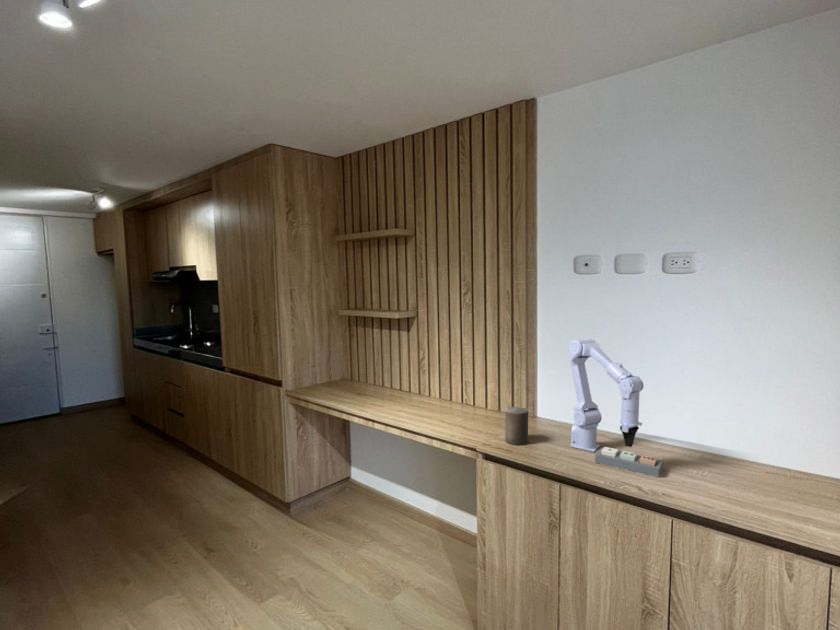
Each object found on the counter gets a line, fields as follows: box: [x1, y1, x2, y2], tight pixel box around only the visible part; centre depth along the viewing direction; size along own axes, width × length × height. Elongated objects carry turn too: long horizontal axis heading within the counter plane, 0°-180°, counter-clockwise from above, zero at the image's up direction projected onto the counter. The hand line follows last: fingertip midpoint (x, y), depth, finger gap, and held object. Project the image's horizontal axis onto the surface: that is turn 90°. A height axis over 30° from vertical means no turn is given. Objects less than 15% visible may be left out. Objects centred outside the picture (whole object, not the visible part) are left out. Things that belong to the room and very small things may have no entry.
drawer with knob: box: [601, 446, 619, 457], centre depth 162 cm, size 5×5×4 cm
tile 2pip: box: [620, 450, 638, 462], centre depth 158 cm, size 5×5×4 cm
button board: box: [594, 446, 664, 478], centre depth 158 cm, size 21×9×3 cm, turn 52°
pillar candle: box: [504, 406, 529, 446], centre depth 183 cm, size 10×10×15 cm
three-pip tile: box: [640, 454, 658, 466], centre depth 154 cm, size 5×5×4 cm
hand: (628, 445), depth 158 cm, fingers closed
